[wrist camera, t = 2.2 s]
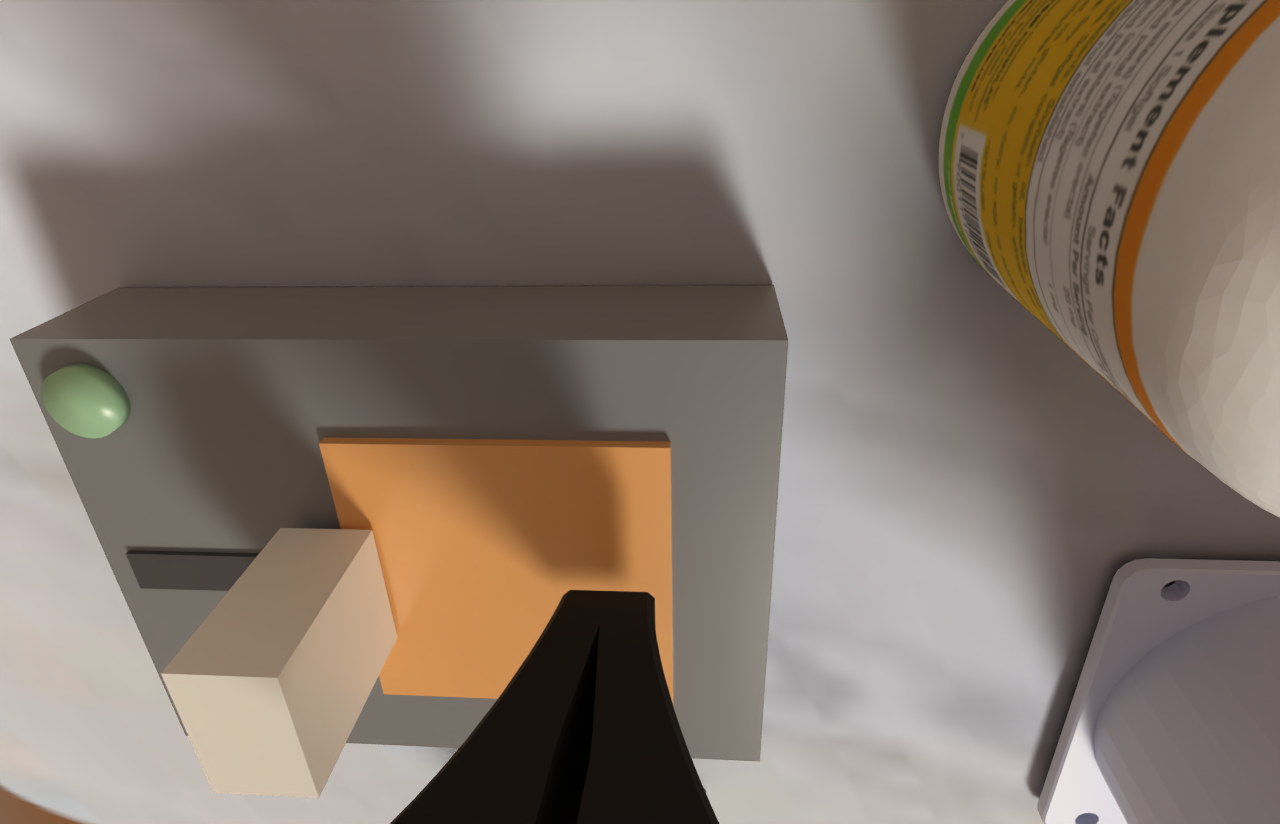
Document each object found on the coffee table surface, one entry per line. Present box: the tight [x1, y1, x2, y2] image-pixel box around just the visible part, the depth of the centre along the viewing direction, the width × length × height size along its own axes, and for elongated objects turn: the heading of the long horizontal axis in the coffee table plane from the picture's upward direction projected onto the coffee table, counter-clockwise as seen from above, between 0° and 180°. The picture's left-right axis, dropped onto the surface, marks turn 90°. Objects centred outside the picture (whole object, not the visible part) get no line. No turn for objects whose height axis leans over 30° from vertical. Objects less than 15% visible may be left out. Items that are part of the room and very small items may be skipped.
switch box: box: [10, 285, 788, 761], centre depth 14 cm, size 12×9×3 cm
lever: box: [161, 528, 397, 798], centre depth 12 cm, size 2×2×3 cm
